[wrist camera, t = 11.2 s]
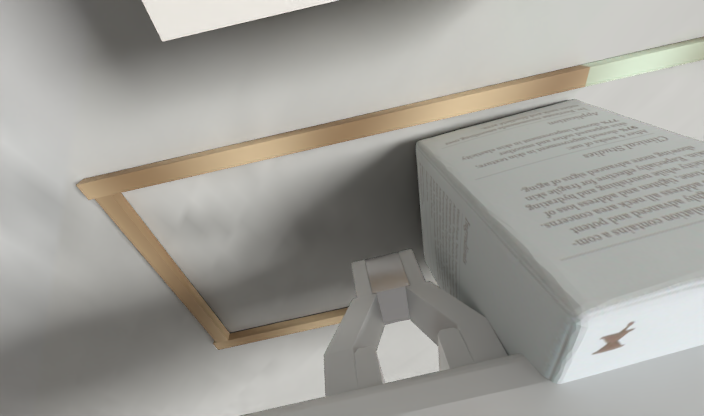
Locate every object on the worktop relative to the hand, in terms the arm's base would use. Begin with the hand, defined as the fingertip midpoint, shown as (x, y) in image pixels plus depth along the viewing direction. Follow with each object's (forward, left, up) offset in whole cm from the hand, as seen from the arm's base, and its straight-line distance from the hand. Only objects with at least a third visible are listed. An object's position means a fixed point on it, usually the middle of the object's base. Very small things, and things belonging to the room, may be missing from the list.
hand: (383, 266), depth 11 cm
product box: (+5, +1, -2) cm, 5 cm away
